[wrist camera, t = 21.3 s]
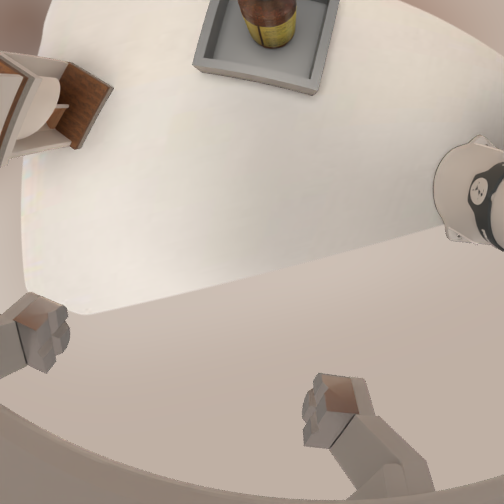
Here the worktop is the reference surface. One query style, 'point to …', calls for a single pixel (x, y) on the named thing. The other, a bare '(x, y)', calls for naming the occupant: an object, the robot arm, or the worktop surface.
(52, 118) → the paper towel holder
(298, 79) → the box
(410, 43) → the worktop surface
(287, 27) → the sauce bottle
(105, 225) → the worktop surface
